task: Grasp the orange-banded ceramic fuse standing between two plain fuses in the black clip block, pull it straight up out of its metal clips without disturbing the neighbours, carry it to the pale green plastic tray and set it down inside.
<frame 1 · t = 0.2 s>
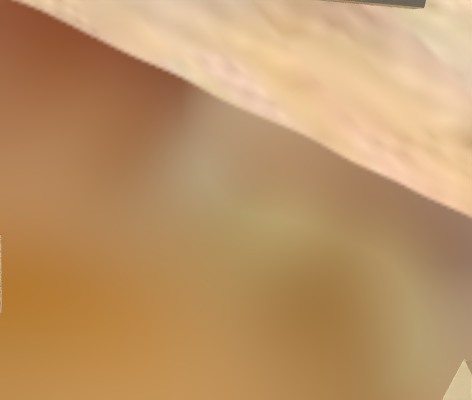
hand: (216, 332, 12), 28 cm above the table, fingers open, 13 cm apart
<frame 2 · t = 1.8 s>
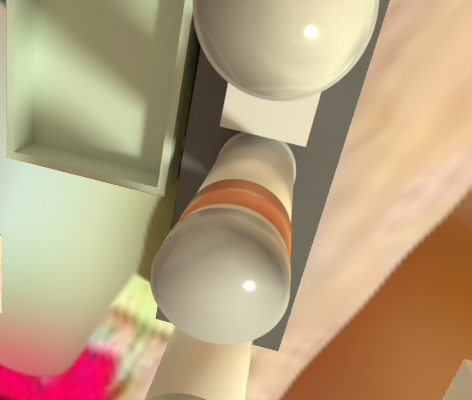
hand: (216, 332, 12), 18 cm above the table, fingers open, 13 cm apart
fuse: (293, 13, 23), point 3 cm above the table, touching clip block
tray: (112, 68, 28), on the table
clip block: (261, 151, 29), on the table
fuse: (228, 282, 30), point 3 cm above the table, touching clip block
marked fuse: (257, 165, 26), point 3 cm above the table, touching clip block
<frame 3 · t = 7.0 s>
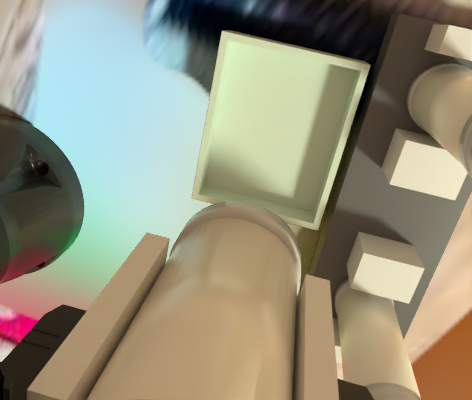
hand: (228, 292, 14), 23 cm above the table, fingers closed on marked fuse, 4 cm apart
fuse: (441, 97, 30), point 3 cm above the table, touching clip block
tray: (275, 128, 36), on the table
clip block: (391, 193, 36), on the table
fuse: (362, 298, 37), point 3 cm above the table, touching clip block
marked fuse: (238, 258, 16), point 21 cm above the table, touching gripper
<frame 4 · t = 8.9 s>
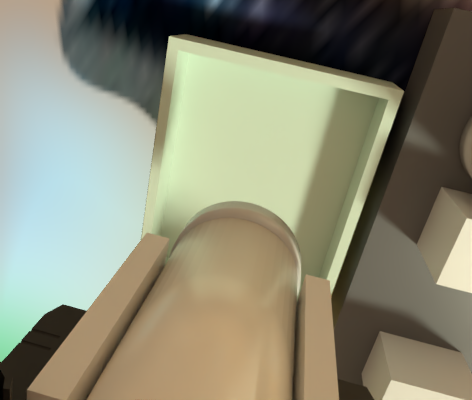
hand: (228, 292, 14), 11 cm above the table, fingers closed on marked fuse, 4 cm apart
tray: (258, 177, 25), on the table
clip block: (425, 270, 25), on the table
marked fuse: (238, 258, 16), point 9 cm above the table, touching gripper
when the fingers open (4 cm above the table, at t = 10.6 s): marked fuse drops 1 cm, resting on tray.
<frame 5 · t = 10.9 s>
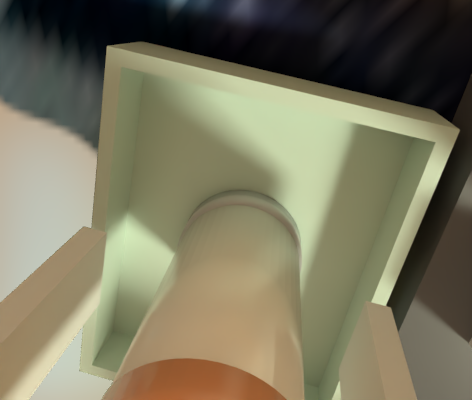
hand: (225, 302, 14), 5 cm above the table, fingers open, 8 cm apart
tray: (245, 234, 18), on the table
clip block: (470, 358, 19), on the table
marked fuse: (241, 244, 17), point 1 cm above the table, touching tray
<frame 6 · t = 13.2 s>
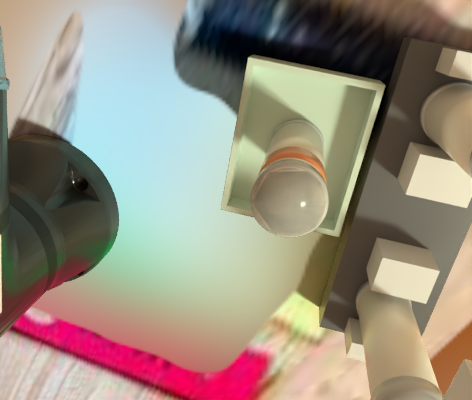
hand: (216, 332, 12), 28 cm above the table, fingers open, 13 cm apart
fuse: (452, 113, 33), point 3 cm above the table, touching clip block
tray: (297, 143, 39), on the table
clip block: (406, 201, 39), on the table
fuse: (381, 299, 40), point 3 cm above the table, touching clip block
marked fuse: (296, 145, 38), point 1 cm above the table, touching tray
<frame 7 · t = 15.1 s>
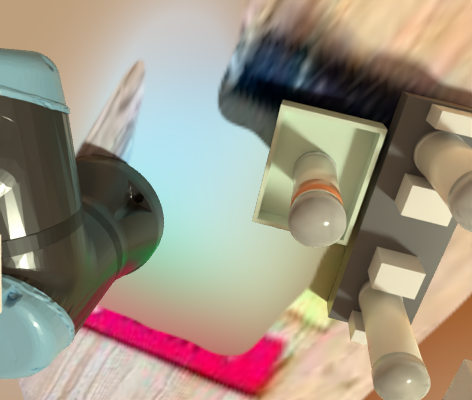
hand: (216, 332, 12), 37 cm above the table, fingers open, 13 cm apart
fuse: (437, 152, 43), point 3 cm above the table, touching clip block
tray: (315, 169, 48), on the table
clip block: (400, 217, 49), on the table
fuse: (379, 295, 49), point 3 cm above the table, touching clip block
marked fuse: (315, 171, 47), point 1 cm above the table, touching tray
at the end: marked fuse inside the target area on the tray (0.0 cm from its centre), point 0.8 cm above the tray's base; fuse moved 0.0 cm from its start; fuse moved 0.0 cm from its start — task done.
